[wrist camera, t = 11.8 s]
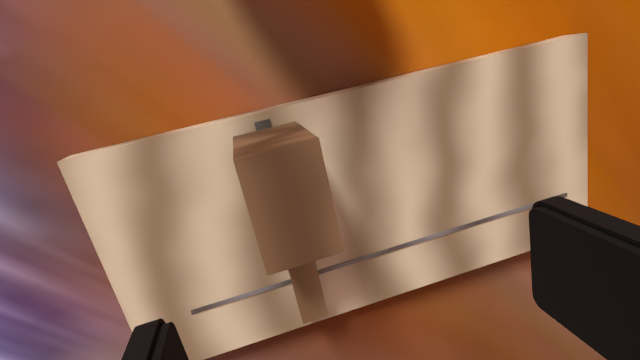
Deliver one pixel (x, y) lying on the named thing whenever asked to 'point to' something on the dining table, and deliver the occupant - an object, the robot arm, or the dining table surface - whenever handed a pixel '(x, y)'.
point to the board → (342, 193)
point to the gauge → (289, 207)
